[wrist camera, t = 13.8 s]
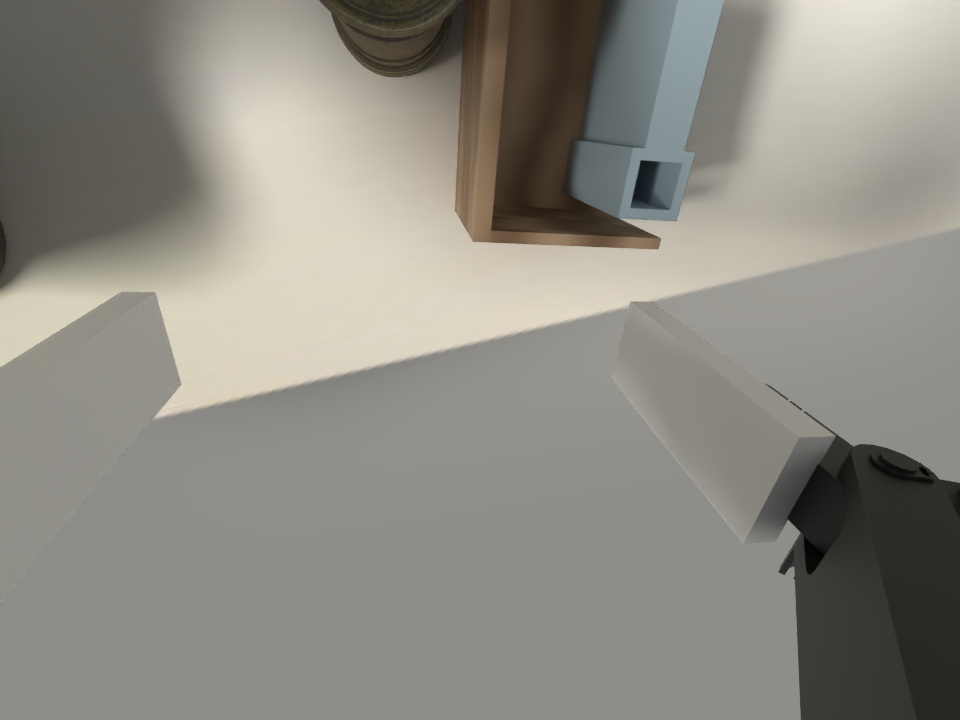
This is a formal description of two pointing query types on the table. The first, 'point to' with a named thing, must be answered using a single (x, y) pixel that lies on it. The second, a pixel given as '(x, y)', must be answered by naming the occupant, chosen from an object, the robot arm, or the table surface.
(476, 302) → the table surface
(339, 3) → the container
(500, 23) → the cabinet
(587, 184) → the door
